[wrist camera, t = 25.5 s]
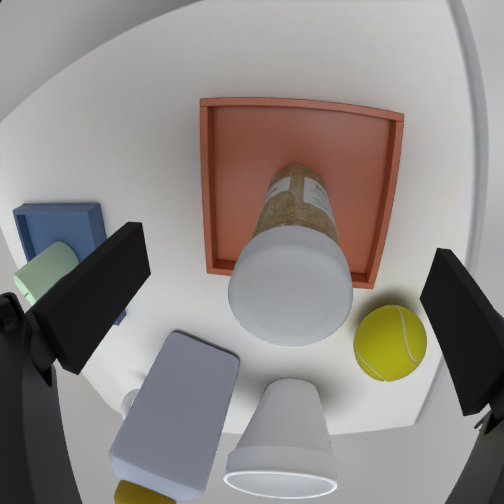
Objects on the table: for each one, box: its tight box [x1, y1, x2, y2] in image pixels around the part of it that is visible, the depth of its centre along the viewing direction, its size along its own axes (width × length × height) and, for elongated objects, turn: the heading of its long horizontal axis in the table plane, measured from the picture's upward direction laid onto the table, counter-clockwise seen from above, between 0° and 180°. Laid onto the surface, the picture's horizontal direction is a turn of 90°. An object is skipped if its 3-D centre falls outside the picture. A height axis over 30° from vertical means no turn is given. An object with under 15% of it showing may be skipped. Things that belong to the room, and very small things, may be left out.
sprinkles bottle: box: [228, 165, 353, 346], centre depth 16 cm, size 5×5×14 cm
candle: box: [13, 241, 79, 306], centre depth 26 cm, size 5×5×8 cm
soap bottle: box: [109, 332, 239, 504], centre depth 23 cm, size 9×9×25 cm
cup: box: [223, 378, 339, 499], centre depth 28 cm, size 12×12×14 cm
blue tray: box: [13, 204, 126, 326], centre depth 29 cm, size 14×14×2 cm
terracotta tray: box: [200, 97, 404, 289], centre depth 21 cm, size 14×14×2 cm
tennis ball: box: [353, 305, 427, 381], centre depth 23 cm, size 7×7×7 cm
